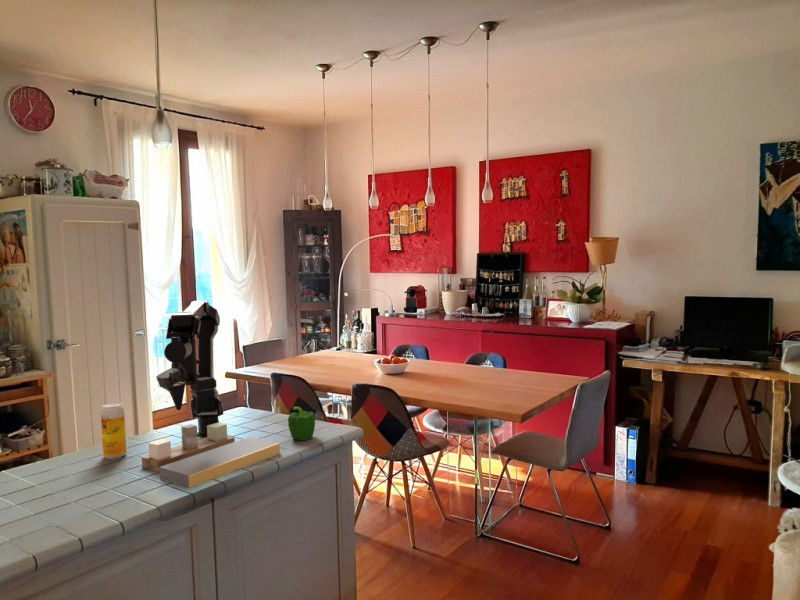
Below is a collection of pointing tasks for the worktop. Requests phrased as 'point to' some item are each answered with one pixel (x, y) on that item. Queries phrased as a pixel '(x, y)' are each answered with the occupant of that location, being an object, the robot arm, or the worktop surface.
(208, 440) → the pallet
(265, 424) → the worktop surface
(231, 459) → the dock
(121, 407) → the beer can
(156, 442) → the block
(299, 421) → the bell pepper
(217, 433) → the pale olive cube
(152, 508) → the worktop surface
